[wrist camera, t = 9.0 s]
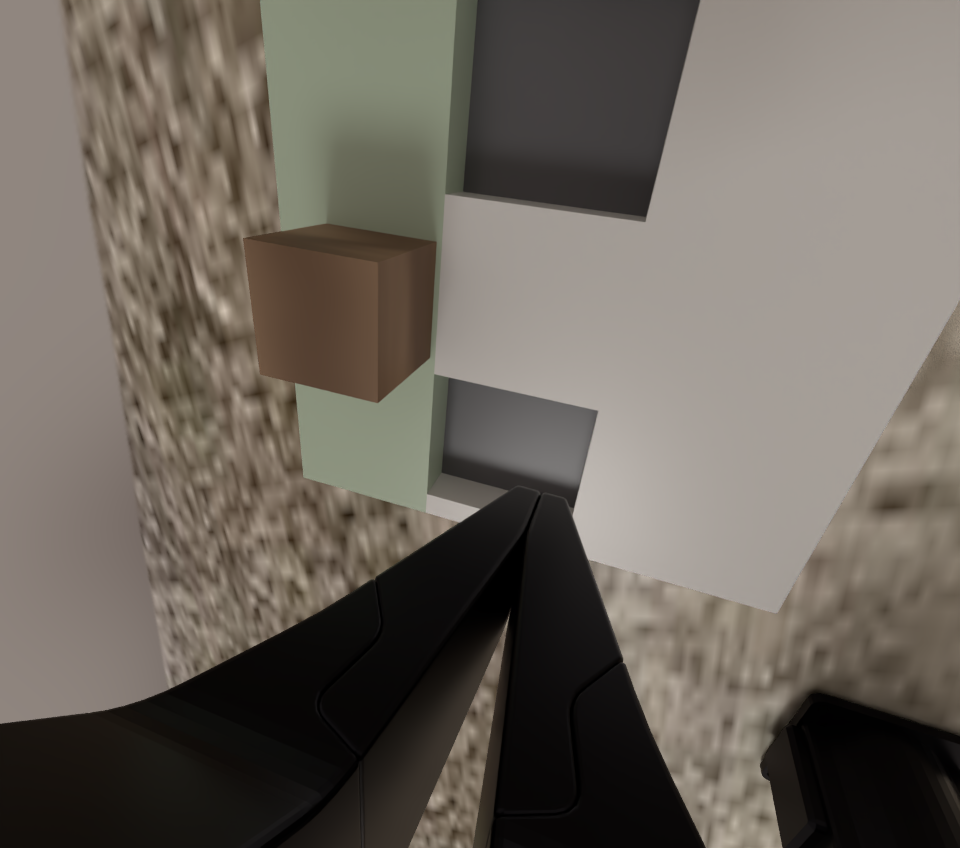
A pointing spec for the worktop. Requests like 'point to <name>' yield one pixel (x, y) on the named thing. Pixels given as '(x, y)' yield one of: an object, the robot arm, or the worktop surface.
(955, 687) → the worktop surface
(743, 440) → the trap deck
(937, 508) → the worktop surface
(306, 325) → the walnut block
